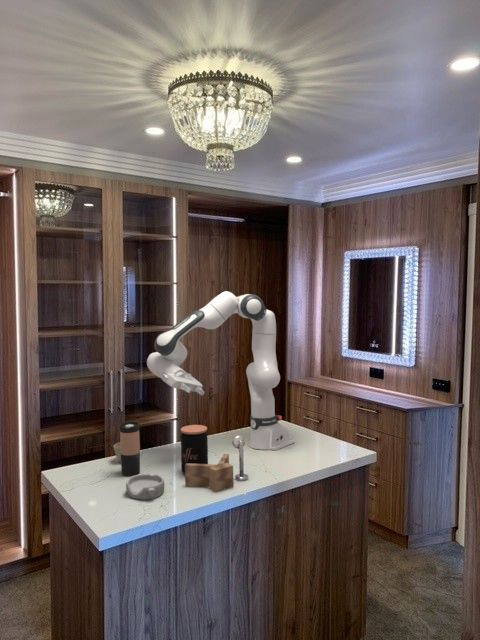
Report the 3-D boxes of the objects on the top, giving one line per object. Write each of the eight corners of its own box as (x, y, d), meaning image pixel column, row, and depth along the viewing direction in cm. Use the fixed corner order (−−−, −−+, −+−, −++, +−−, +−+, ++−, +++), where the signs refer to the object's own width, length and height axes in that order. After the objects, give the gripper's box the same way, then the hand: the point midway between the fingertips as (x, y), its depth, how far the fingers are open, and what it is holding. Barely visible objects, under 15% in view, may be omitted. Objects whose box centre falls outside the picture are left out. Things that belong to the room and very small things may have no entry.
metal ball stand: (243, 475, 191) (242, 434, 190) (250, 479, 186) (250, 437, 186) (232, 478, 188) (231, 436, 187) (240, 482, 184) (239, 439, 183)
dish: (157, 502, 168) (157, 488, 167) (119, 500, 170) (119, 486, 170) (170, 485, 182) (170, 472, 182) (135, 484, 184) (135, 471, 184)
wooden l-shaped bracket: (227, 472, 193) (226, 453, 193) (246, 482, 183) (245, 462, 182) (183, 484, 182) (183, 464, 181) (201, 496, 171) (200, 474, 171)
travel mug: (134, 468, 200) (132, 420, 199) (144, 473, 195) (142, 424, 193) (117, 473, 195) (116, 424, 194) (127, 478, 189) (126, 428, 188)
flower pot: (131, 465, 203) (131, 449, 203) (109, 464, 205) (109, 447, 205) (141, 457, 213) (140, 441, 213) (120, 456, 215) (119, 440, 215)
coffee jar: (176, 472, 194) (175, 428, 193) (195, 465, 202) (195, 423, 201) (193, 479, 187) (192, 433, 186) (213, 471, 195) (212, 427, 194)
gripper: (163, 366, 200) (186, 382, 193) (191, 373, 218) (213, 388, 210) (156, 379, 201) (178, 396, 193) (184, 385, 218) (206, 401, 211)
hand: (196, 392), depth 202 cm, fingers open, 8 cm apart
